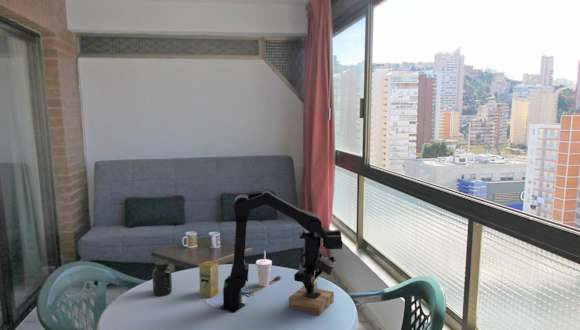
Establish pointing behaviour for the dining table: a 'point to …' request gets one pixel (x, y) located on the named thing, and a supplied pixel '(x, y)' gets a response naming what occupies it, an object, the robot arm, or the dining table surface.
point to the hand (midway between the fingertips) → (311, 292)
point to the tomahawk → (260, 287)
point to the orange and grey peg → (313, 290)
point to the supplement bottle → (162, 279)
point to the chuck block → (311, 301)
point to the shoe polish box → (208, 278)
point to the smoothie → (263, 271)
